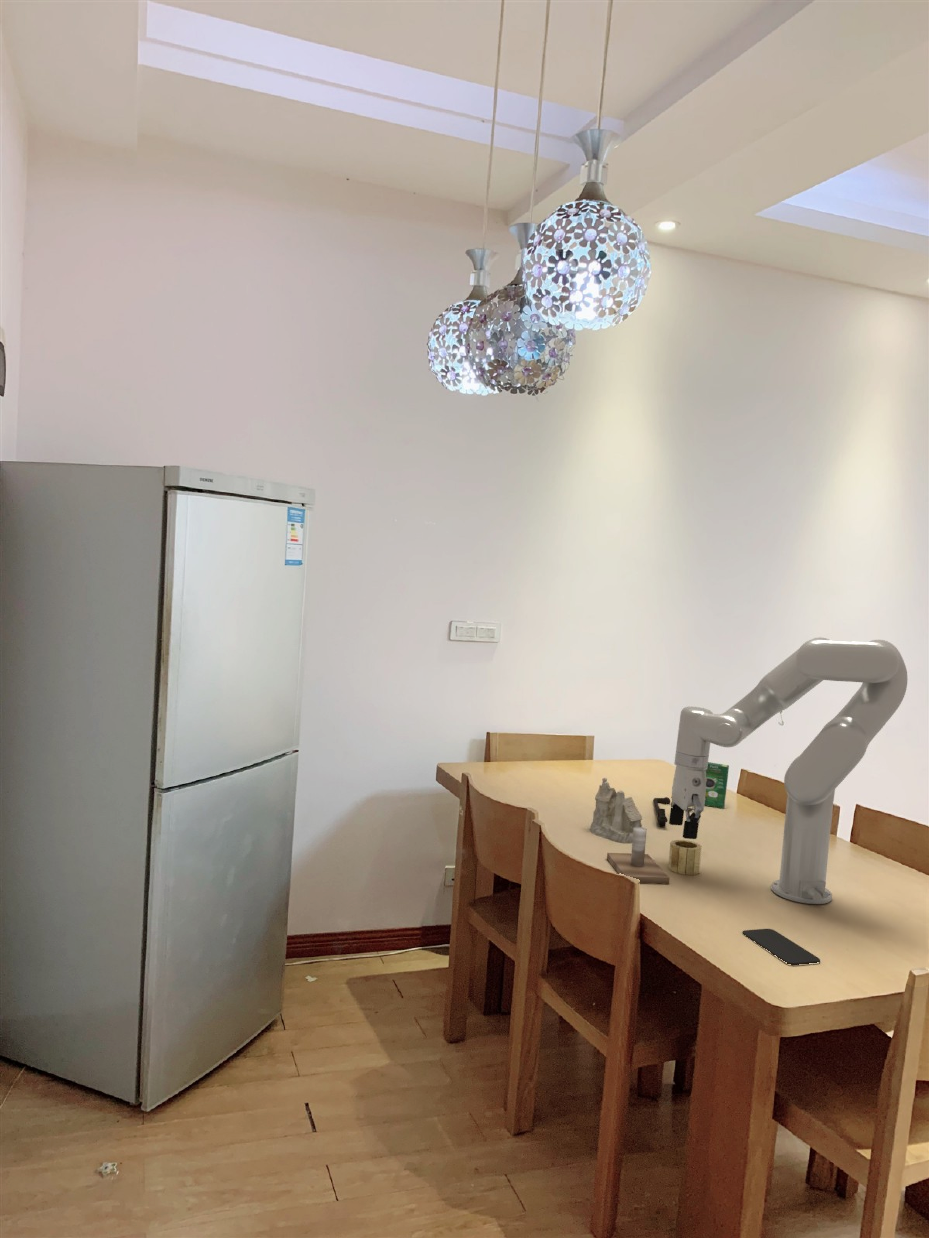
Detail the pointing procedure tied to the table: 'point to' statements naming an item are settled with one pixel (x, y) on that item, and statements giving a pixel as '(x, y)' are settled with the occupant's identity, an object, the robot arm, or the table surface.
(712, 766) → the coffee box
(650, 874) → the post board
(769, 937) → the phone
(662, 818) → the wrench
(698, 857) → the ring
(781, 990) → the table surface
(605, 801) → the ceramic cottage
